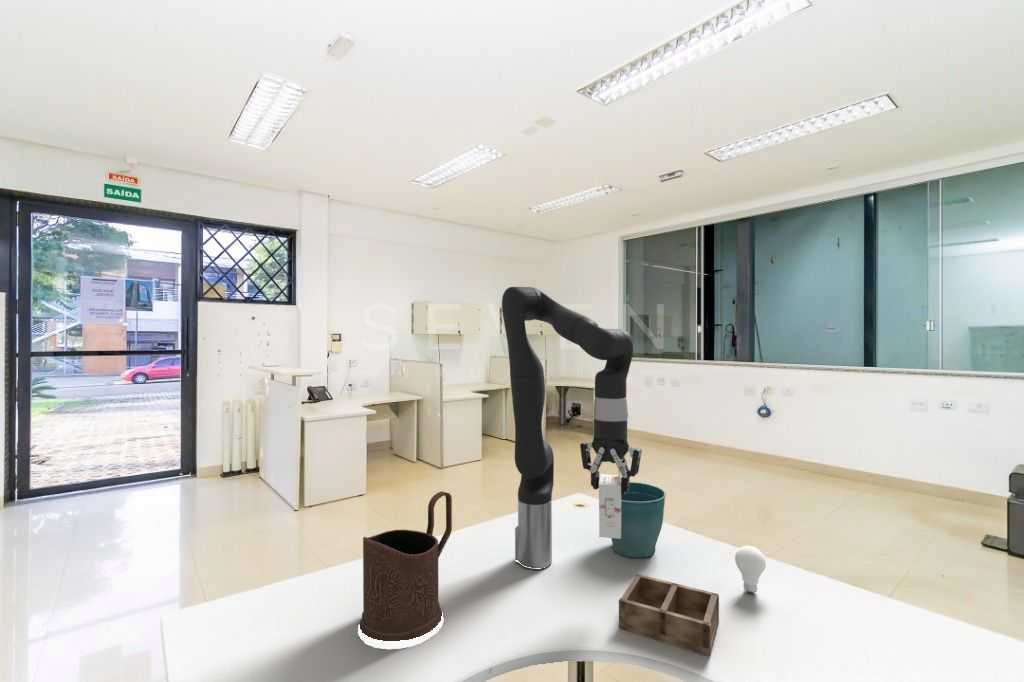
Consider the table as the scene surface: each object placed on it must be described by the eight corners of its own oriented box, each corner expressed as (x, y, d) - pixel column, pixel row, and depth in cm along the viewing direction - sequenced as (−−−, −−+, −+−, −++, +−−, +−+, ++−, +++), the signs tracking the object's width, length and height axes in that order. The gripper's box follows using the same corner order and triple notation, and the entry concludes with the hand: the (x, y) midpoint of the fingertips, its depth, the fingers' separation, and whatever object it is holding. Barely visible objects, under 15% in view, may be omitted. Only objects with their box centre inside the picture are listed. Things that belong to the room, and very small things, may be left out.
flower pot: (600, 560, 131) (599, 499, 131) (602, 534, 148) (602, 479, 148) (668, 567, 127) (668, 503, 127) (662, 539, 144) (662, 483, 144)
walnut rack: (618, 628, 100) (618, 600, 100) (635, 598, 112) (635, 573, 112) (710, 657, 91) (710, 625, 91) (718, 621, 102) (718, 594, 102)
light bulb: (763, 588, 116) (763, 543, 116) (768, 602, 110) (768, 554, 110) (733, 583, 118) (733, 539, 118) (736, 597, 112) (736, 550, 112)
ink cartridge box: (599, 522, 113) (599, 460, 112) (620, 524, 112) (620, 461, 111) (598, 537, 104) (598, 470, 104) (621, 539, 103) (621, 472, 103)
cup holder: (338, 627, 101) (338, 510, 101) (423, 581, 120) (423, 482, 120) (395, 663, 90) (394, 531, 90) (479, 606, 109) (478, 497, 109)
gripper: (574, 416, 108) (573, 490, 108) (637, 422, 101) (636, 501, 101) (586, 412, 114) (586, 481, 115) (646, 417, 107) (646, 491, 107)
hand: (609, 490), depth 108 cm, fingers closed on ink cartridge box, 6 cm apart
